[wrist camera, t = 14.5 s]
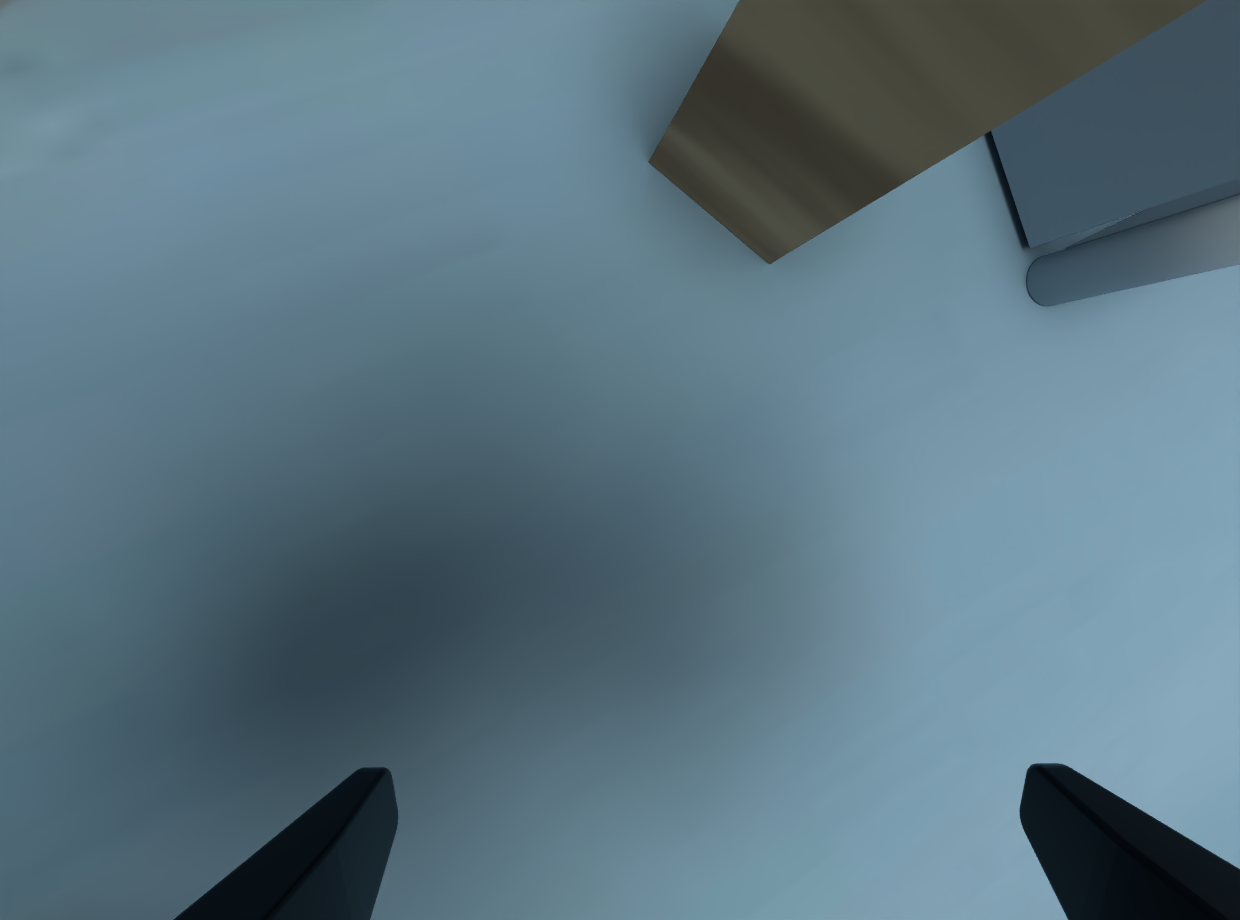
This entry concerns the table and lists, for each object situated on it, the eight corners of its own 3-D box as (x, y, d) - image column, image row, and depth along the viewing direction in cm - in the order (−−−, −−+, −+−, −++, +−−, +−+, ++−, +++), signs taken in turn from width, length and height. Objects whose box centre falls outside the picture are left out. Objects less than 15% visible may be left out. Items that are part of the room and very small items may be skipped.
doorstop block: (769, 264, 19) (1309, -62, 6) (648, 162, 18) (1002, -465, 5) (851, 144, 19) (1519, -393, 7) (737, 37, 18) (1266, -829, 6)
